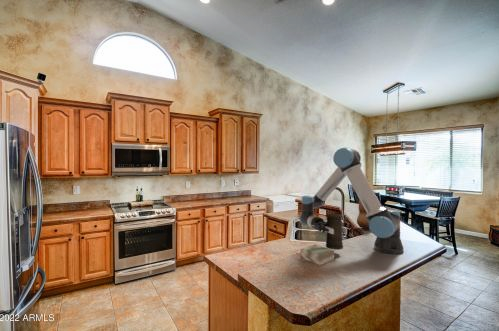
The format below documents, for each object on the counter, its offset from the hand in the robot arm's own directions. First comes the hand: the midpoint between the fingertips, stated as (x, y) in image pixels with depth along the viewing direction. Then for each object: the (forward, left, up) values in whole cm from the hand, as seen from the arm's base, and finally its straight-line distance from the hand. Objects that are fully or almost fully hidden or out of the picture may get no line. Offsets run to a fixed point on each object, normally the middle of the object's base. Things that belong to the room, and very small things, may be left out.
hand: (339, 231), depth 136 cm
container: (+4, -2, -10) cm, 11 cm away
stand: (+5, +12, -14) cm, 19 cm away
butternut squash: (+22, -72, -14) cm, 77 cm away
